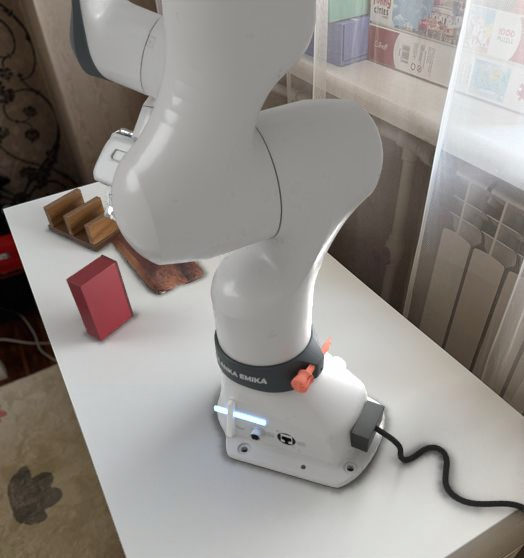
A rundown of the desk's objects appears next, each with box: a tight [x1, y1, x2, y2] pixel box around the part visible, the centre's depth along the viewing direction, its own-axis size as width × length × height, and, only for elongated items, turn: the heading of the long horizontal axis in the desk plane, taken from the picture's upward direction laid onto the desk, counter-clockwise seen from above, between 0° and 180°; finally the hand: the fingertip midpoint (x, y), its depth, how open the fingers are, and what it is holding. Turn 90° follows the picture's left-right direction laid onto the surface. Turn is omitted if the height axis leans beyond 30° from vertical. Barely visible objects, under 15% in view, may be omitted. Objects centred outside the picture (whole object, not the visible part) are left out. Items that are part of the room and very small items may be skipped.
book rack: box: [42, 187, 121, 253], centre depth 104 cm, size 14×9×5 cm, turn 54°
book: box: [65, 254, 135, 342], centre depth 82 cm, size 3×7×11 cm, turn 144°
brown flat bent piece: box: [111, 233, 204, 295], centre depth 100 cm, size 26×2×10 cm
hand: (131, 227), depth 82 cm, fingers open, 8 cm apart
